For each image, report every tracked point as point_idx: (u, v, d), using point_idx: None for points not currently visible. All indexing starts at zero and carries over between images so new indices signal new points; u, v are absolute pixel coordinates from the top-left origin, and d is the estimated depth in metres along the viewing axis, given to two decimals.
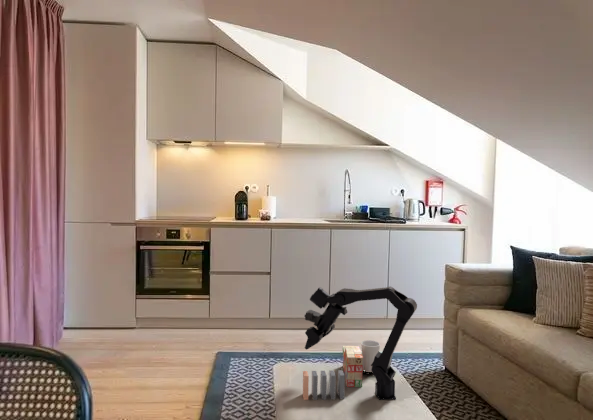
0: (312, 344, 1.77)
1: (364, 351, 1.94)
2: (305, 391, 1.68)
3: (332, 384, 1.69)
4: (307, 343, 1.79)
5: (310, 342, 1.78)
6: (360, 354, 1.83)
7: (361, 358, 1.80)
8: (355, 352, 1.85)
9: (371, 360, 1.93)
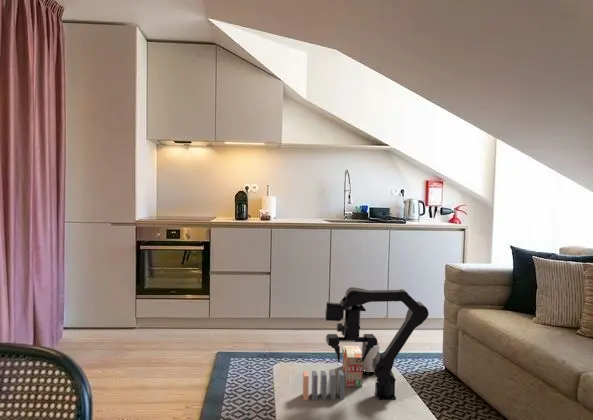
0: (336, 352, 1.70)
1: None
2: (305, 391, 1.68)
3: (332, 384, 1.69)
4: (336, 354, 1.72)
5: (336, 351, 1.71)
6: (360, 354, 1.83)
7: None
8: (355, 352, 1.85)
9: (371, 360, 1.93)
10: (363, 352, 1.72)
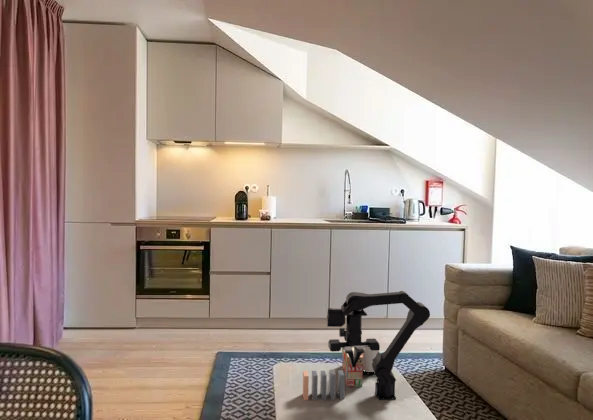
0: (350, 357, 1.70)
1: None
2: (305, 391, 1.68)
3: (332, 384, 1.69)
4: (350, 359, 1.72)
5: (350, 356, 1.71)
6: None
7: (361, 358, 1.80)
8: None
9: (371, 360, 1.93)
10: (354, 357, 1.71)
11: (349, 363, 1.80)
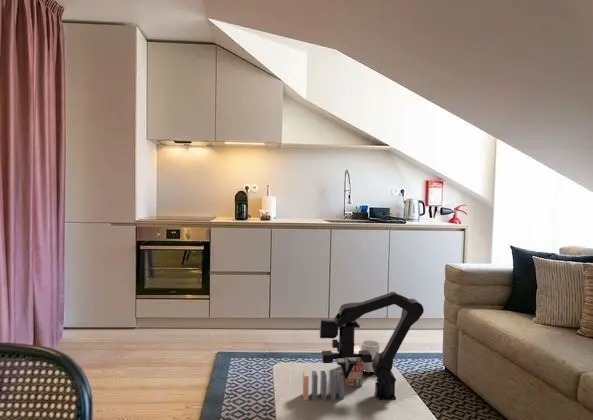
0: (342, 369, 1.70)
1: None
2: (305, 391, 1.68)
3: (332, 384, 1.69)
4: None
5: None
6: None
7: None
8: (355, 351, 1.85)
9: None
10: (347, 369, 1.71)
11: None
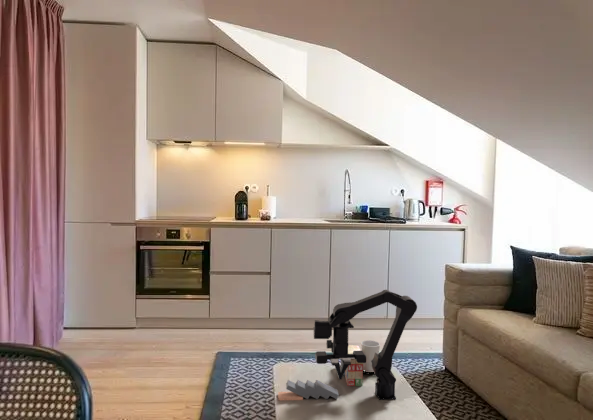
0: (336, 370, 1.70)
1: (364, 351, 1.94)
2: None
3: (314, 391, 1.69)
4: None
5: None
6: None
7: None
8: None
9: (371, 360, 1.93)
10: (341, 369, 1.71)
11: None
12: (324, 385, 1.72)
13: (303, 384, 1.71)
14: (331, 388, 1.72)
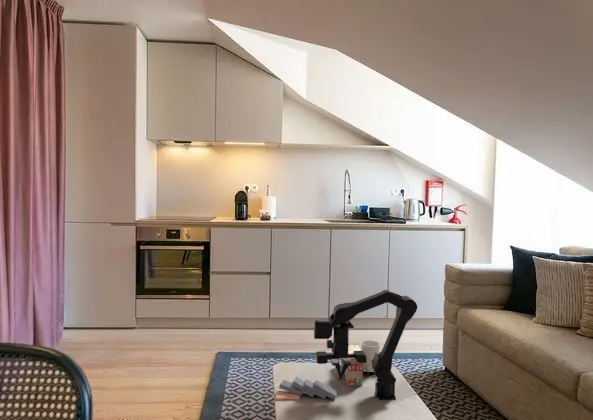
0: None
1: (364, 351, 1.94)
2: None
3: (311, 391, 1.70)
4: (337, 371, 1.72)
5: (337, 369, 1.71)
6: None
7: None
8: None
9: (371, 360, 1.93)
10: (341, 369, 1.71)
11: None
12: (322, 385, 1.72)
13: (300, 381, 1.74)
14: (330, 389, 1.72)
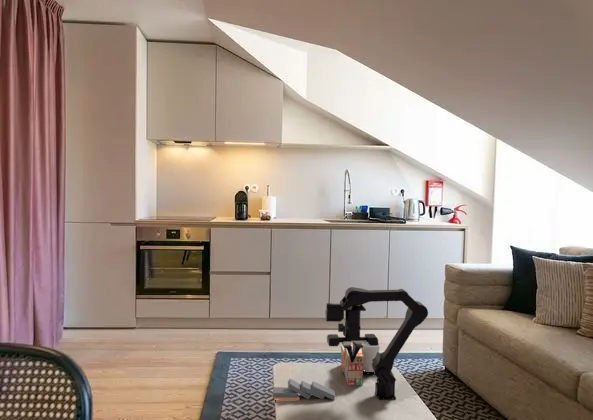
0: (348, 352, 1.70)
1: (364, 351, 1.94)
2: None
3: (310, 392, 1.68)
4: None
5: (348, 351, 1.71)
6: (360, 353, 1.84)
7: (362, 357, 1.81)
8: None
9: (371, 360, 1.93)
10: (353, 352, 1.71)
11: (350, 362, 1.81)
12: (320, 386, 1.71)
13: (295, 383, 1.71)
14: (328, 389, 1.72)
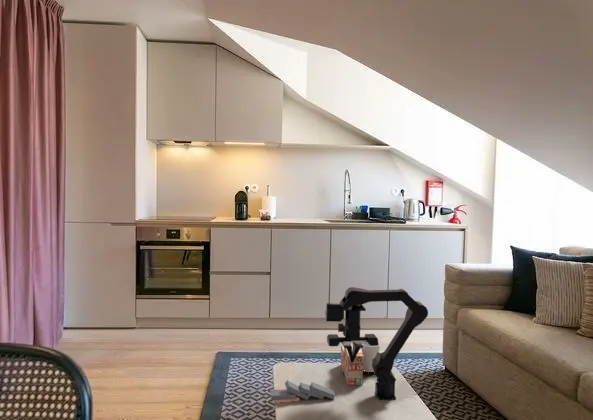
0: (348, 352, 1.70)
1: (364, 351, 1.94)
2: None
3: (309, 393, 1.68)
4: None
5: (348, 351, 1.71)
6: (360, 353, 1.84)
7: (362, 356, 1.81)
8: None
9: (371, 360, 1.93)
10: (353, 352, 1.71)
11: (350, 362, 1.81)
12: (319, 386, 1.71)
13: (293, 385, 1.69)
14: (327, 389, 1.72)
